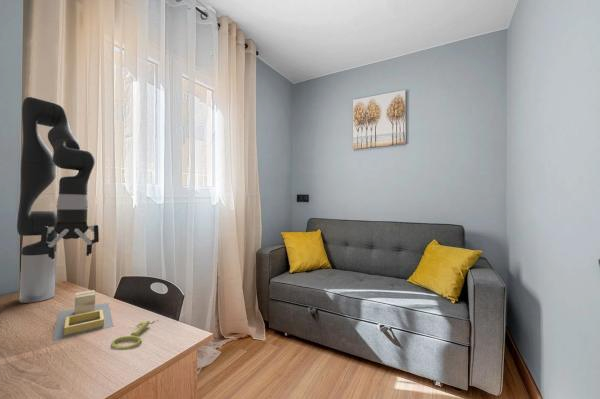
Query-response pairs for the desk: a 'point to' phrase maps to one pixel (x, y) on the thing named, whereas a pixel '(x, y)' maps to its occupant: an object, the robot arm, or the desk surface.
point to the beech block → (84, 302)
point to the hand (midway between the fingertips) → (70, 257)
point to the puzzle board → (82, 322)
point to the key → (131, 337)
